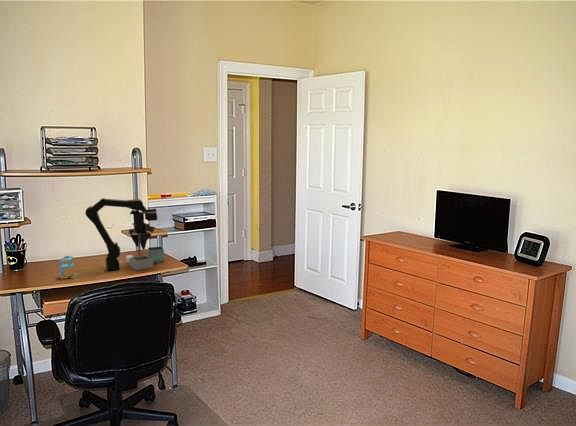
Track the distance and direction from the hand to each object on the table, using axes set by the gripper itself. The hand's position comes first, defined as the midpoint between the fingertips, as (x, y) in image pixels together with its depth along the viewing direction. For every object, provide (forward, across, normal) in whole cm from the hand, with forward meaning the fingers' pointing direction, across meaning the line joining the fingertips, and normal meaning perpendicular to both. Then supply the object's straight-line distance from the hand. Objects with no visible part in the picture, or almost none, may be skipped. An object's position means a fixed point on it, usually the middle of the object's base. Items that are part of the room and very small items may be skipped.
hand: (140, 248), depth 298 cm
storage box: (+12, 0, 0) cm, 12 cm away
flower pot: (+12, +6, -12) cm, 18 cm away
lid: (+13, +16, +1) cm, 20 cm away
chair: (+12, +8, +39) cm, 42 cm away
